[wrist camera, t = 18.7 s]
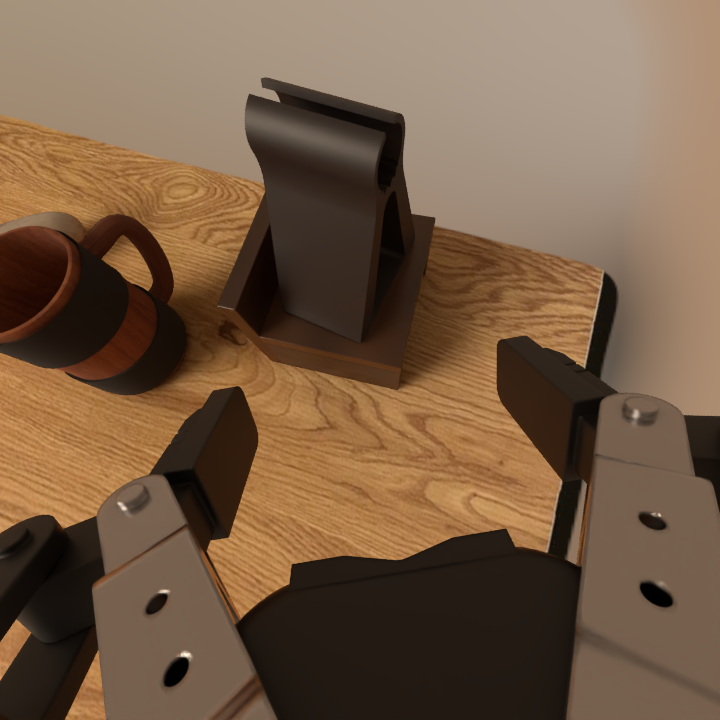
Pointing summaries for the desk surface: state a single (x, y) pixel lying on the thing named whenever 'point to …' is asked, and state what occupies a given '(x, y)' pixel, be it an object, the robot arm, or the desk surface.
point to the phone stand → (332, 202)
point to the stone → (49, 223)
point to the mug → (89, 307)
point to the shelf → (312, 342)
